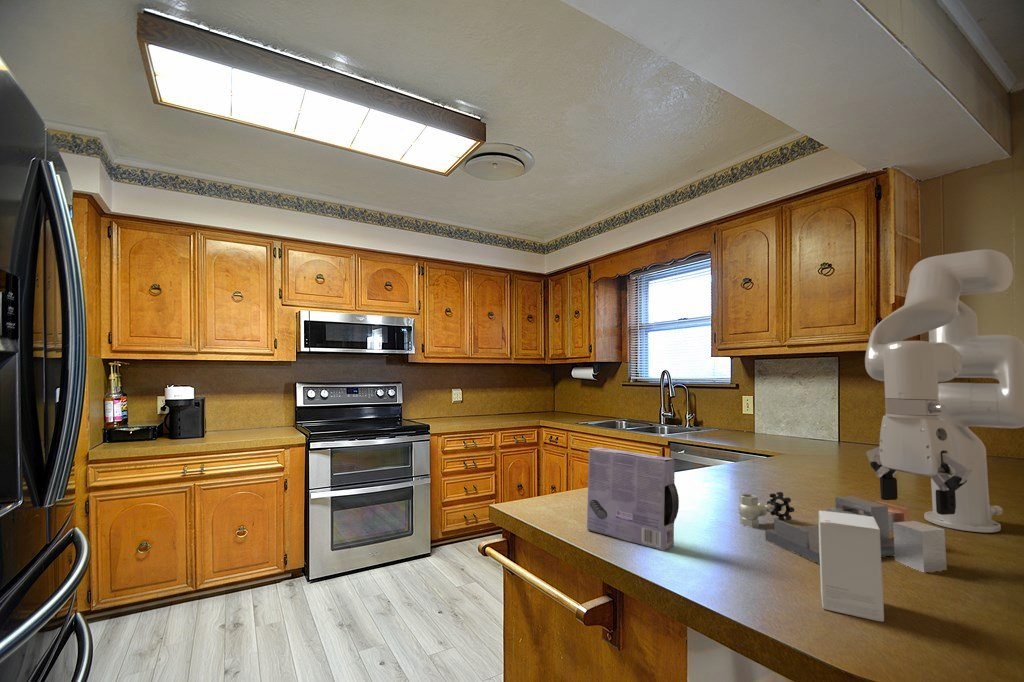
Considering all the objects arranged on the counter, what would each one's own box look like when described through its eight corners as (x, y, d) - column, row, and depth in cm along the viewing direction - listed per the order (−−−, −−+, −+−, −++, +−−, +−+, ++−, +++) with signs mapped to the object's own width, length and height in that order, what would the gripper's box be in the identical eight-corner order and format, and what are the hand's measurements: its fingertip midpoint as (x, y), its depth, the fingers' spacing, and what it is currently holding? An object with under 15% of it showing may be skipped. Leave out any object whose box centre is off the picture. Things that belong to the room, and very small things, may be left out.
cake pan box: (681, 546, 95) (679, 456, 96) (669, 553, 92) (667, 459, 93) (598, 525, 108) (597, 446, 109) (585, 531, 105) (584, 448, 106)
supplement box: (885, 623, 66) (881, 529, 67) (821, 609, 70) (817, 520, 71) (879, 601, 72) (875, 515, 73) (820, 590, 76) (817, 508, 77)
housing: (921, 559, 89) (919, 520, 89) (952, 569, 84) (949, 528, 84) (895, 562, 87) (893, 522, 88) (924, 573, 83) (921, 531, 83)
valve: (754, 531, 105) (795, 525, 109) (753, 500, 105) (794, 495, 109) (730, 522, 111) (770, 516, 115) (730, 493, 111) (769, 488, 115)
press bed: (845, 532, 103) (843, 492, 104) (907, 554, 91) (905, 509, 91) (765, 539, 99) (764, 498, 99) (819, 564, 86) (817, 516, 87)
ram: (880, 526, 101) (879, 500, 101) (909, 535, 95) (908, 508, 96) (825, 531, 98) (824, 505, 98) (852, 541, 92) (851, 513, 92)
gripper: (983, 412, 80) (989, 519, 78) (882, 406, 96) (885, 494, 95) (948, 412, 78) (954, 521, 77) (851, 406, 95) (854, 495, 93)
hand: (916, 506), depth 86 cm, fingers open, 9 cm apart
